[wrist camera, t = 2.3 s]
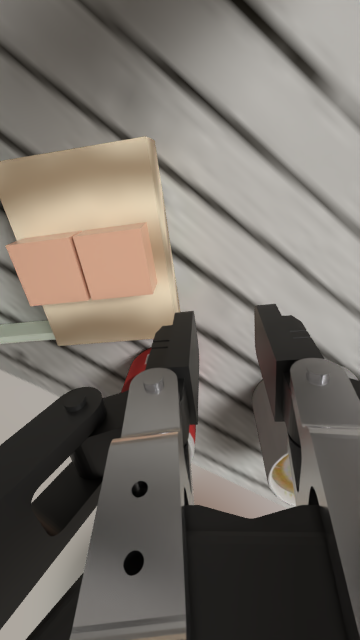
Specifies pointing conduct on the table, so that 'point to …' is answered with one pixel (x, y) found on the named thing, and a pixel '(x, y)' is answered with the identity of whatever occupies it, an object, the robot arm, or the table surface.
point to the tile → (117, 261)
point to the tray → (26, 332)
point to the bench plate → (91, 213)
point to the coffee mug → (275, 445)
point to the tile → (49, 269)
